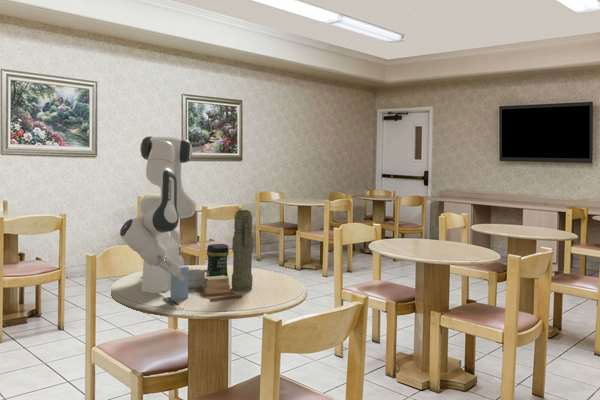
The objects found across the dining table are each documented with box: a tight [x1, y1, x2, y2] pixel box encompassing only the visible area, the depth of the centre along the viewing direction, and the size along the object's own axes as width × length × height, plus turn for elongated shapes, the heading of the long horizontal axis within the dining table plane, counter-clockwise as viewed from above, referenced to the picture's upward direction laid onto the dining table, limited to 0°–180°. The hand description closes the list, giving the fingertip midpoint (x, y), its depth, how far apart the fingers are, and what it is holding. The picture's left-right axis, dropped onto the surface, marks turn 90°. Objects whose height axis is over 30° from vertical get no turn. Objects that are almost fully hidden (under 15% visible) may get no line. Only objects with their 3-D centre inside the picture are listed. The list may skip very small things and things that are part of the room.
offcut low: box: [202, 284, 231, 294], centre depth 220 cm, size 5×10×3 cm, turn 121°
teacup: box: [188, 268, 209, 290], centre depth 230 cm, size 14×11×8 cm
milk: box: [141, 231, 180, 295], centre depth 225 cm, size 12×12×26 cm
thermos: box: [231, 209, 254, 292], centre depth 226 cm, size 9×12×35 cm
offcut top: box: [204, 276, 230, 287], centre depth 220 cm, size 5×9×3 cm, turn 121°
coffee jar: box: [206, 243, 230, 278], centre depth 238 cm, size 10×8×19 cm
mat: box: [162, 296, 180, 306], centre depth 209 cm, size 10×10×1 cm
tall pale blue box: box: [170, 265, 190, 301], centre depth 208 cm, size 4×6×13 cm, turn 121°
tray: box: [195, 287, 243, 302], centre depth 216 cm, size 18×13×2 cm
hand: (179, 277), depth 208 cm, fingers open, 8 cm apart
